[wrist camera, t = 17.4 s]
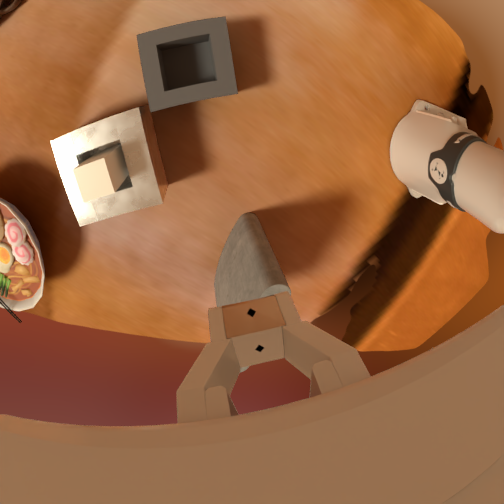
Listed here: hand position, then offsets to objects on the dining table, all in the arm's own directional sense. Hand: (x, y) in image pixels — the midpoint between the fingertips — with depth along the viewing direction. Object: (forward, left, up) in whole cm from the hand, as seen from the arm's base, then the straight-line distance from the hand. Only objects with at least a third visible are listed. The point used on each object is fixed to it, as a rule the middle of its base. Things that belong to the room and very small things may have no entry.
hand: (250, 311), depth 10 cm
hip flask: (0, +18, -31) cm, 36 cm away
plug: (+13, -2, -30) cm, 33 cm away
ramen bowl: (+39, +4, -31) cm, 50 cm away
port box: (+13, -2, -31) cm, 34 cm away
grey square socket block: (+1, -12, -31) cm, 33 cm away
